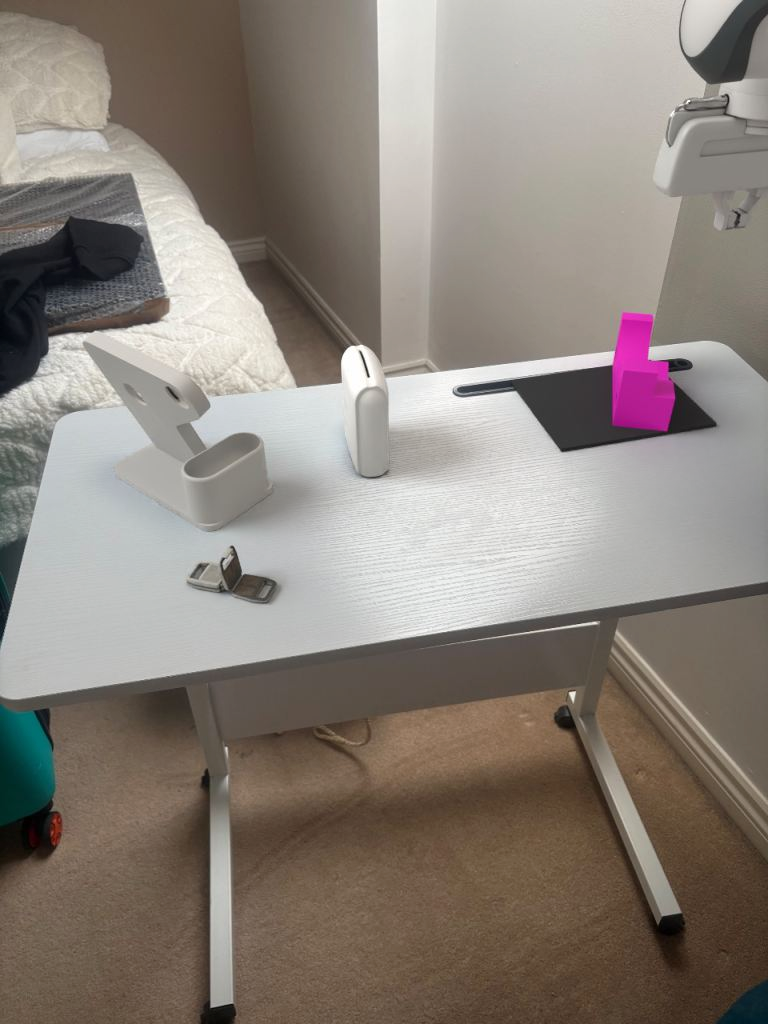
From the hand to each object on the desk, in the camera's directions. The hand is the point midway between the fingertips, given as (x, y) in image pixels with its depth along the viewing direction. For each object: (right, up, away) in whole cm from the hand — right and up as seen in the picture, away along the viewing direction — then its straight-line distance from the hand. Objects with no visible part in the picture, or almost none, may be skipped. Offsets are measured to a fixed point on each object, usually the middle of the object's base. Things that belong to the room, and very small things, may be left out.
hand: (730, 227), depth 92 cm
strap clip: (-53, -39, -13) cm, 67 cm away
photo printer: (-41, -25, +4) cm, 48 cm away
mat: (-10, -18, +11) cm, 24 cm away
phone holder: (-60, -29, 0) cm, 66 cm away
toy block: (-7, -17, +12) cm, 22 cm away
